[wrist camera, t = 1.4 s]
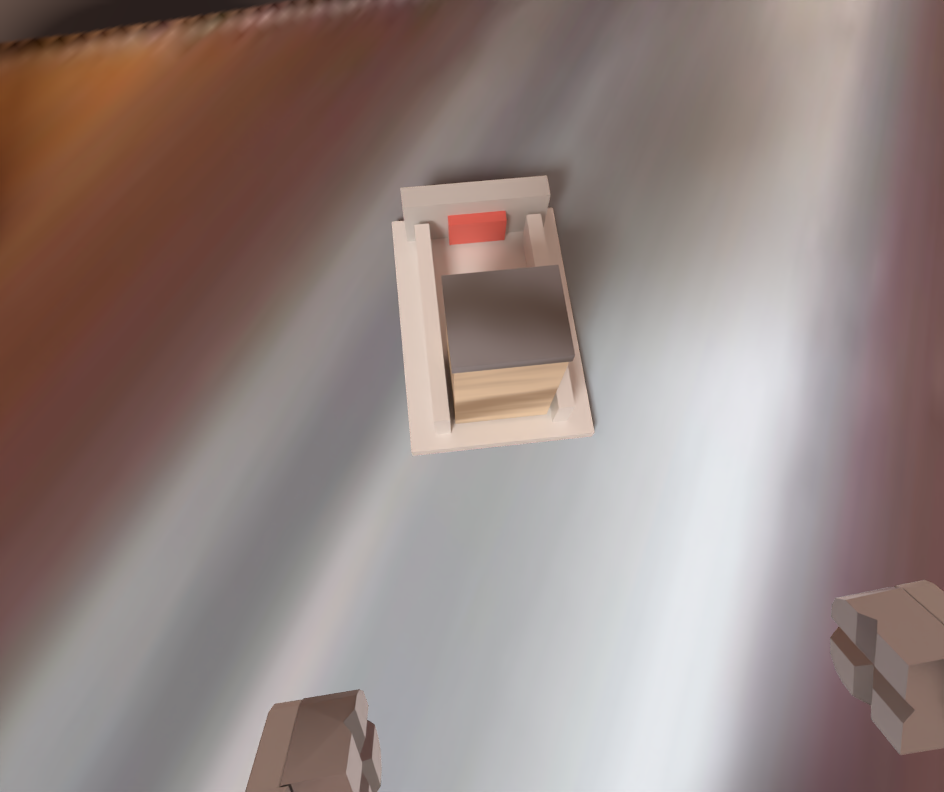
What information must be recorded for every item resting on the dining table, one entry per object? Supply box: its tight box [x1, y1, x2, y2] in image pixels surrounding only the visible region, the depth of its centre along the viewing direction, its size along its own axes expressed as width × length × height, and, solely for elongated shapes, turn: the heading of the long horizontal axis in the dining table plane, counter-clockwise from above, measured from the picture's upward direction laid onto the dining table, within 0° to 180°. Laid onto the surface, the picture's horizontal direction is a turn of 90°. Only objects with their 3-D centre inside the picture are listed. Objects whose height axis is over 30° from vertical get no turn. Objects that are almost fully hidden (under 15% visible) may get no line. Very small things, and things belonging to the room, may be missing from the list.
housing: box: [392, 175, 595, 456], centre depth 42 cm, size 18×12×5 cm
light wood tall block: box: [441, 265, 575, 424], centre depth 36 cm, size 5×6×10 cm
